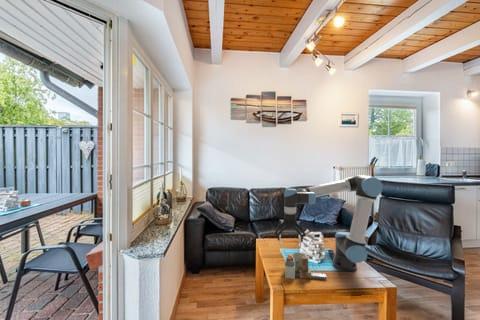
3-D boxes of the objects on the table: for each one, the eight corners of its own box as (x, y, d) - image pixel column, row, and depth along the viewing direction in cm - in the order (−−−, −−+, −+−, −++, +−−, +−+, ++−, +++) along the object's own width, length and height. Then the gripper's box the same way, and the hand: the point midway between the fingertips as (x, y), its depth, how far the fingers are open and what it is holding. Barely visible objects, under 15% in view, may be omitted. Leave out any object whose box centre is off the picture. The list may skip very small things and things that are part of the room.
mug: (306, 273, 148) (306, 258, 148) (286, 271, 150) (286, 256, 150) (305, 267, 156) (305, 252, 156) (286, 265, 159) (286, 251, 158)
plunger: (292, 258, 148) (292, 254, 148) (292, 260, 145) (292, 256, 145) (287, 258, 148) (287, 253, 148) (287, 260, 146) (287, 255, 146)
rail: (325, 276, 144) (325, 274, 144) (326, 279, 140) (326, 277, 140) (294, 273, 148) (294, 270, 148) (294, 276, 144) (294, 273, 144)
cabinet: (294, 271, 151) (294, 256, 150) (294, 278, 142) (294, 263, 142) (285, 270, 152) (285, 255, 152) (285, 277, 143) (285, 262, 143)
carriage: (310, 273, 147) (310, 255, 147) (311, 278, 141) (311, 260, 141) (299, 272, 149) (299, 254, 148) (299, 277, 143) (299, 259, 142)
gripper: (309, 212, 147) (309, 245, 147) (271, 210, 152) (271, 242, 153) (310, 215, 140) (310, 250, 140) (270, 213, 145) (270, 246, 145)
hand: (290, 246), depth 146 cm, fingers open, 12 cm apart
